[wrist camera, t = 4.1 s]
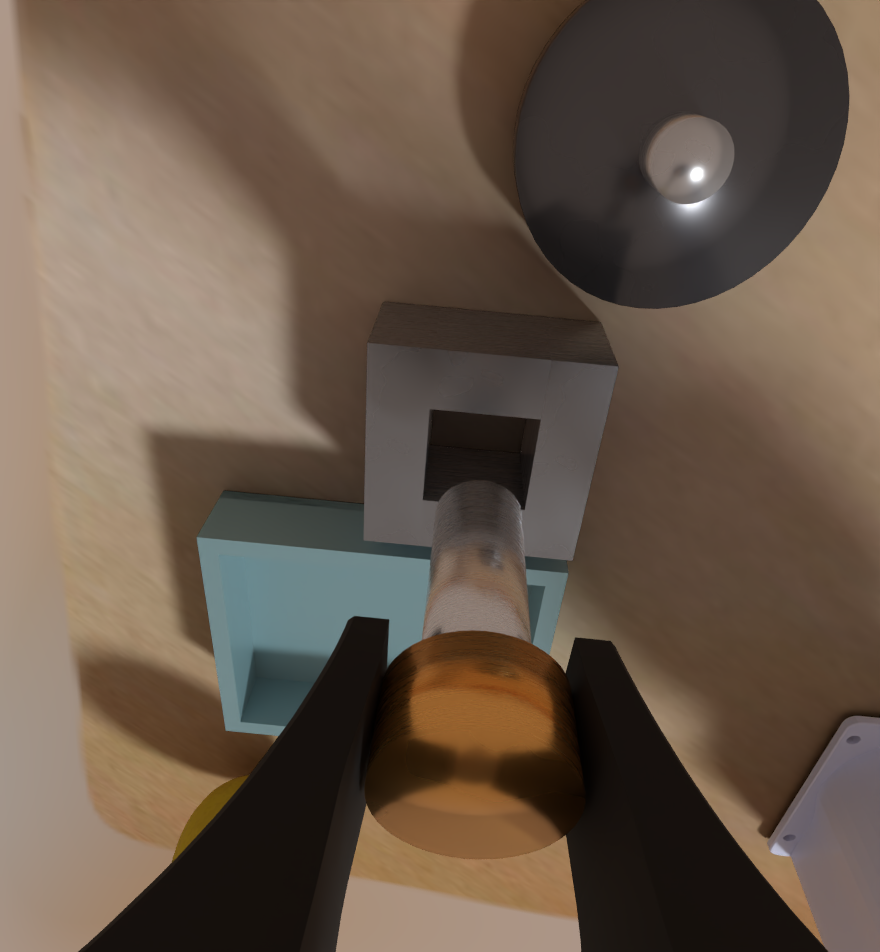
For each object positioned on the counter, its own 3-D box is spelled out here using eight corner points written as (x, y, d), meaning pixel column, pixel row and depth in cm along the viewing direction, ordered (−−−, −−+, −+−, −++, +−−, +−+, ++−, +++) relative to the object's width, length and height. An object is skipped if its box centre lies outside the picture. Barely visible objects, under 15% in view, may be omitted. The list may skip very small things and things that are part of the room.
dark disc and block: (686, 512, 22) (712, 574, 19) (377, 482, 22) (363, 540, 19) (869, -26, 14) (951, -40, 12) (395, -68, 14) (375, -92, 12)
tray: (521, 704, 27) (524, 760, 25) (245, 677, 27) (225, 730, 25) (561, 523, 22) (568, 573, 20) (223, 490, 22) (196, 537, 20)
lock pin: (536, 574, 17) (564, 868, 11) (406, 562, 17) (362, 848, 11) (559, 464, 15) (606, 741, 9) (413, 450, 15) (366, 717, 9)
